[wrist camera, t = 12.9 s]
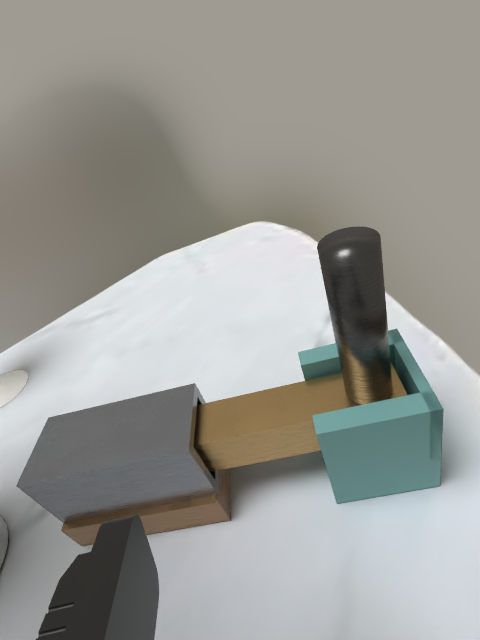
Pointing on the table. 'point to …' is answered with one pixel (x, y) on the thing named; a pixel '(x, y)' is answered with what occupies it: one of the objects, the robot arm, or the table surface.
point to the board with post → (321, 393)
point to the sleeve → (127, 467)
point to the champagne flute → (11, 385)
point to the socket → (379, 431)
